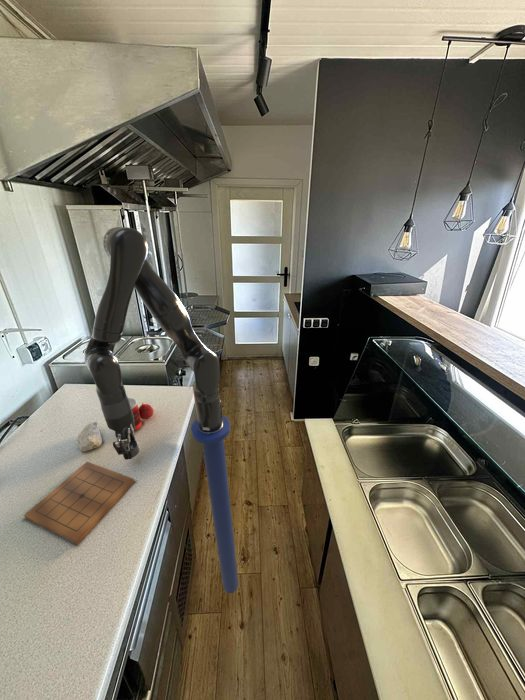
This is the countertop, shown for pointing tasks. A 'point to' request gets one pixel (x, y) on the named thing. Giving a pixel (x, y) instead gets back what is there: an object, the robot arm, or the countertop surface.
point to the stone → (89, 437)
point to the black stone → (133, 448)
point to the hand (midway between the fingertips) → (131, 451)
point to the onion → (145, 411)
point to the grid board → (79, 502)
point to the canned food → (135, 413)
